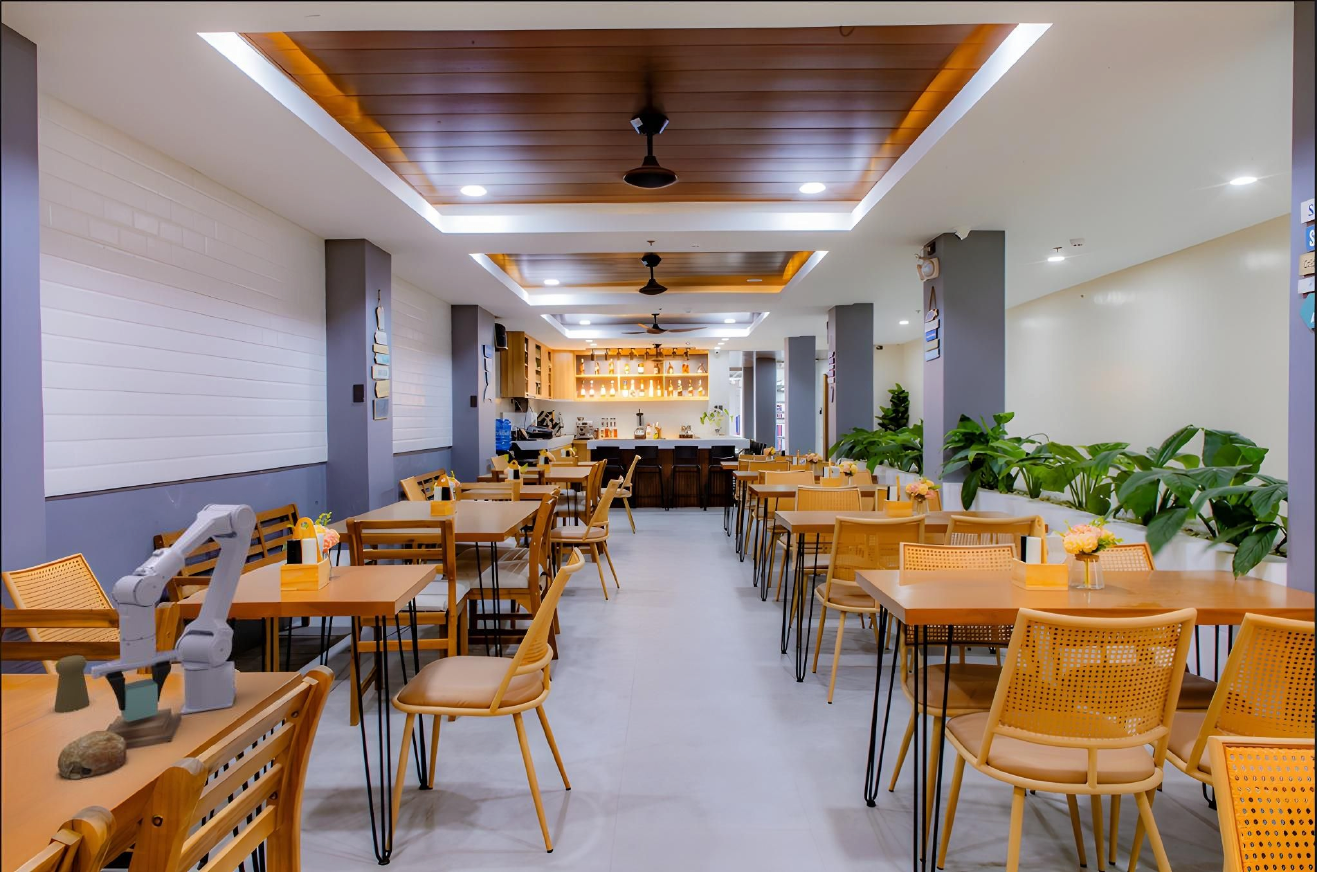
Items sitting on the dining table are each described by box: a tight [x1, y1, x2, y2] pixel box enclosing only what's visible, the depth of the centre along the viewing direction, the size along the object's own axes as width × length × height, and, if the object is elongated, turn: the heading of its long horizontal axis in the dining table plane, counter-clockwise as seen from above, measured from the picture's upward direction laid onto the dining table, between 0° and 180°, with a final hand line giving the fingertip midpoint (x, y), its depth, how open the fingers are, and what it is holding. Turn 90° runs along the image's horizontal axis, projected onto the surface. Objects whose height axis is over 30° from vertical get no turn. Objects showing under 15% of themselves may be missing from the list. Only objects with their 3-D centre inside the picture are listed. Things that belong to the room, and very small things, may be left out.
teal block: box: [120, 677, 159, 722], centre depth 142 cm, size 5×5×6 cm
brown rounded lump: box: [57, 730, 127, 781], centre depth 130 cm, size 10×10×8 cm
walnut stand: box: [105, 707, 182, 750], centre depth 142 cm, size 12×12×3 cm
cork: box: [54, 654, 91, 714], centre depth 157 cm, size 6×6×11 cm
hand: (139, 704), depth 142 cm, fingers closed on teal block, 5 cm apart
